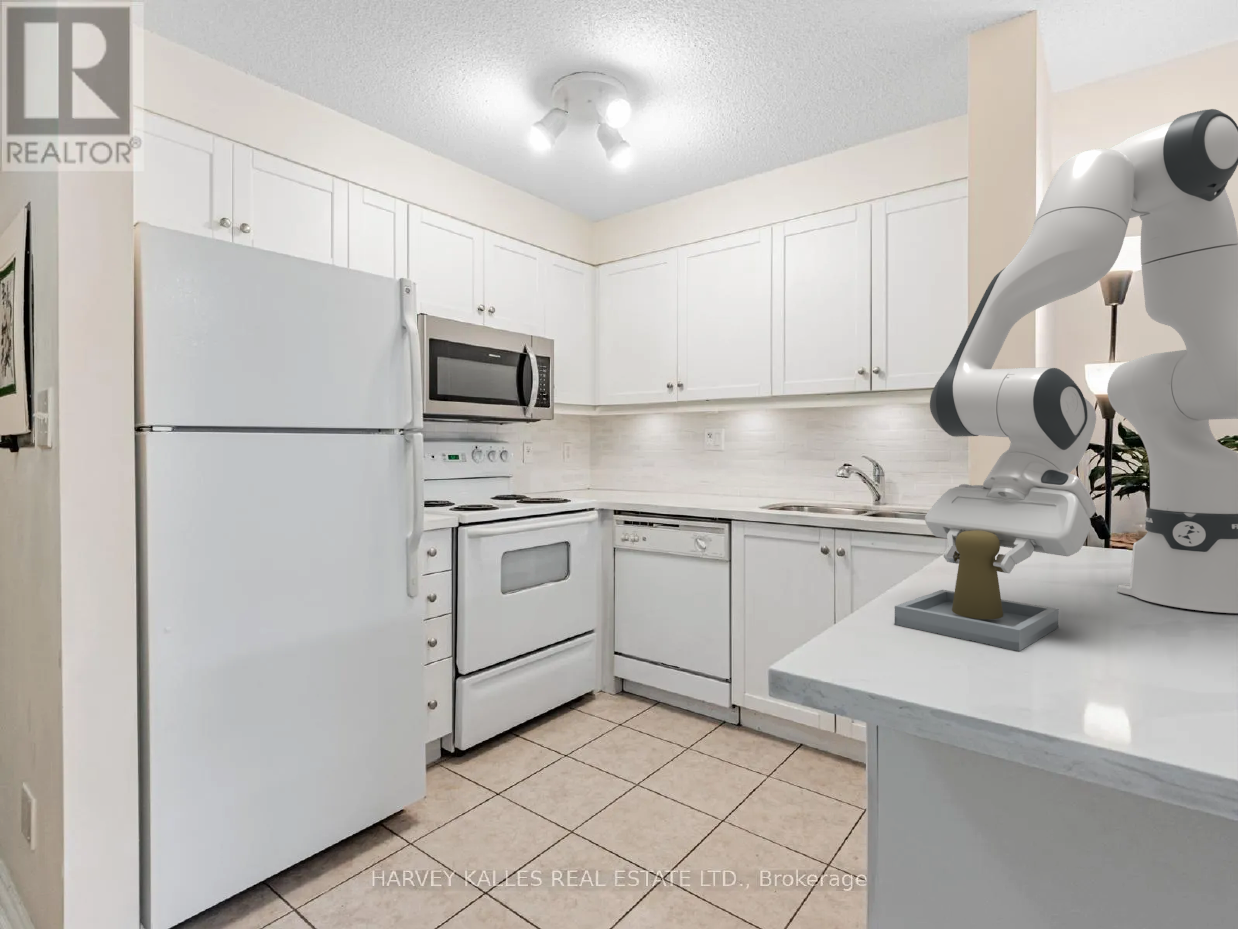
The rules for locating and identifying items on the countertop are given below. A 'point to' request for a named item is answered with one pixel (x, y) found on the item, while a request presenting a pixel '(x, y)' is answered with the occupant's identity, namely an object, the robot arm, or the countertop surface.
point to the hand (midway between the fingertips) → (974, 564)
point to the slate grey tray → (978, 621)
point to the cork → (977, 576)
